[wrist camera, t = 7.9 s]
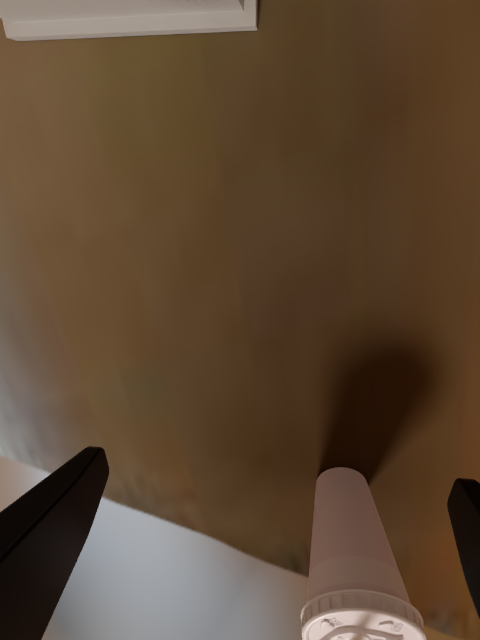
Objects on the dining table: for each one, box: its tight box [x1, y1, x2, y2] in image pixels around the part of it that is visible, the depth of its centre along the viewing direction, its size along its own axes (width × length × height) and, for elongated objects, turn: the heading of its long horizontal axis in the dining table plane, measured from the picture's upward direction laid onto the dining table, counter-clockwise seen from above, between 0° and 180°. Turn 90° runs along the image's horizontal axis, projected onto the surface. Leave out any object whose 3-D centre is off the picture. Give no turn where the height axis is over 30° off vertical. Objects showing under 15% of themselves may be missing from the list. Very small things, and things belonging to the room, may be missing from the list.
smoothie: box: [300, 467, 426, 640], centre depth 22 cm, size 6×6×14 cm
